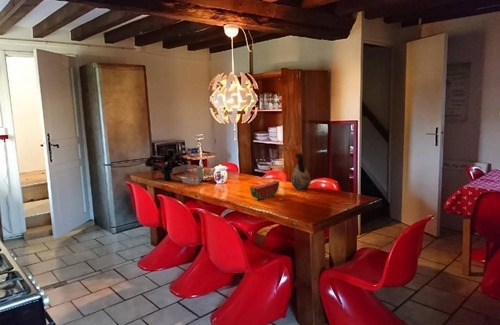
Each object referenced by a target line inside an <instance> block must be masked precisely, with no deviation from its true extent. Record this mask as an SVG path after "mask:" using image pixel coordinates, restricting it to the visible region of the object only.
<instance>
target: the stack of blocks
mask: <svg viewBox="0 0 500 325" xmlns="http://www.w3.org/2000/svg"><path fill="white" fill-rule="evenodd" d="M164 163H165V164H167V162H164ZM165 164H164V165H165ZM180 165H181V166H180V167H175V168H173V170H172V173H170V175H171V176H172V175H175V174H179V173H183V172H187V165H182V164H180Z"/></svg>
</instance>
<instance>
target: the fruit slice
mask: <svg viewBox="0 0 500 325" xmlns="http://www.w3.org/2000/svg"><path fill="white" fill-rule="evenodd" d="M279 187H280V181H279V180H273V181H272V182H269V183H266V184H261V185H258V186H254V187H253V186H252V187H249V190H250V195H251V197H252V198H255V199H258V200H264V199H263V198H267V197H269V198H271V197H273V196H275V194H277V193H278V190H279ZM267 199H268V198H267Z"/></svg>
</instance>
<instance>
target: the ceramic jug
mask: <svg viewBox="0 0 500 325" xmlns="http://www.w3.org/2000/svg"><path fill="white" fill-rule="evenodd" d="M294 157H295V158H296V159H297V164H296V165H295V167H294V169H293V170H292V172H291V177H290V182H291V185H292V186H293V188H294V189H295V191H300V192H303V191H307V190H308V188H309V187H310V185H311V182H312V178H311V174H310V172H309V171H308V169H307V167H306V166H305V165H304V156H303V154H302V153H301V152H298V153H295V155H294Z"/></svg>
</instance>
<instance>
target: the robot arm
mask: <svg viewBox="0 0 500 325" xmlns="http://www.w3.org/2000/svg"><path fill="white" fill-rule="evenodd" d="M166 151H167V152H166V155H162V156H161V155H156V154H155V155H151V156H149V157H148V159H146V161H145V163H144V164H145V166H146V167H147V168H148V167H149V168H154V169H158V170H161V172H160V173H161V175H163V179H162V181H166V182H168V181H171V180H173V178H172V177H171V176H172V175H170V173H172V170H173V168H175V167H180V166H181V165H180V164H182V165H186V166H187V165H189V162H188V159H187V157H182V158H181V155H182V154H181V153H180V152H175V149H174V148H167V149H166ZM180 158H181V159H180ZM156 161H160V162H161V163H166V162H167V164H161V163H158V162H156Z"/></svg>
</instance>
